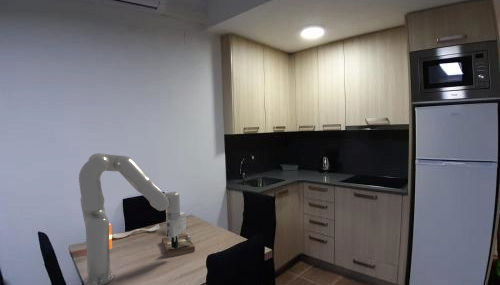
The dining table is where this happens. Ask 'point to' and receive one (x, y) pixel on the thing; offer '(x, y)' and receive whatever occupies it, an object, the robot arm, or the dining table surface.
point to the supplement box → (183, 220)
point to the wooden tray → (180, 249)
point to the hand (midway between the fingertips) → (174, 247)
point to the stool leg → (180, 243)
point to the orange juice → (110, 237)
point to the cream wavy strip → (121, 235)
